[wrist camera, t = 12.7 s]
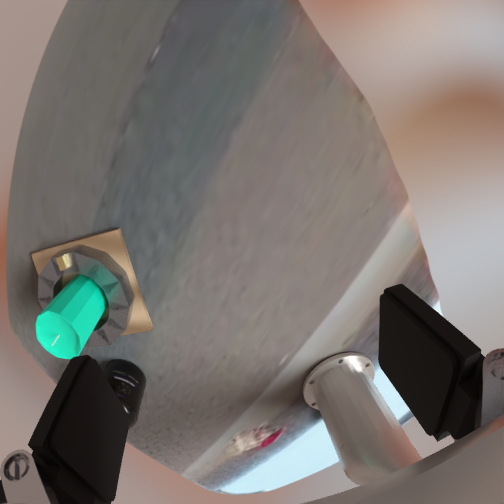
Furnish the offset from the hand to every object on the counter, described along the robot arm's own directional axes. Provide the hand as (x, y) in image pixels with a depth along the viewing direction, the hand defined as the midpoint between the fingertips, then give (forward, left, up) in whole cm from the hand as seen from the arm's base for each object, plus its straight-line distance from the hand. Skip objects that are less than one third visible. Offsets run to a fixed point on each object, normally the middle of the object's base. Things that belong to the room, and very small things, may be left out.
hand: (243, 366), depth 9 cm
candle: (-7, +19, -27) cm, 34 cm away
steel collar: (-7, +20, -28) cm, 35 cm away
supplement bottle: (-22, +20, -28) cm, 41 cm away
